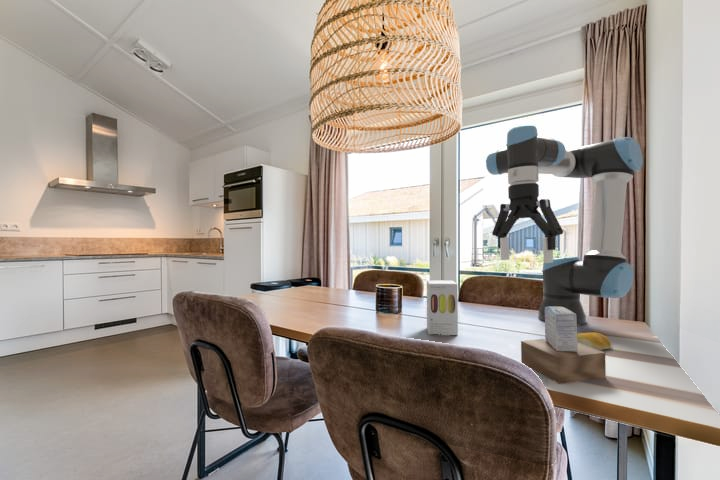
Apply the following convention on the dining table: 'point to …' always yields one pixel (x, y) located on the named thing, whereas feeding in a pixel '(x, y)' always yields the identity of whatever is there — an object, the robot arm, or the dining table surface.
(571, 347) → the medicine box
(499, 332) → the dining table surface
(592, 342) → the bread roll
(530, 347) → the walnut block
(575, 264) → the robot arm
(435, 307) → the supplement box
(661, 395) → the dining table surface
